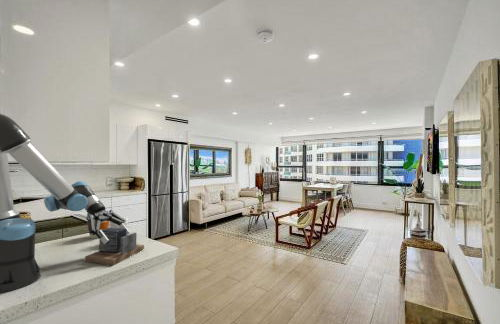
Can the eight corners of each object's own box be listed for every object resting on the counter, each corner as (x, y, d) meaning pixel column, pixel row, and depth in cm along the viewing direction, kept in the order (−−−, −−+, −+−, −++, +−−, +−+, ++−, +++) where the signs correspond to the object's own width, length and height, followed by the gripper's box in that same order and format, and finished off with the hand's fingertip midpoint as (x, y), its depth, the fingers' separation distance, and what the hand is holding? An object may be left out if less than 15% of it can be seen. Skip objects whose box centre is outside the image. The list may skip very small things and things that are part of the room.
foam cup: (110, 240, 139) (110, 218, 139) (128, 238, 143) (128, 217, 143) (108, 245, 131) (108, 222, 131) (127, 243, 134) (127, 220, 135)
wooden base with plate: (113, 265, 104) (114, 241, 104) (85, 261, 108) (85, 239, 108) (144, 249, 124) (144, 229, 124) (118, 247, 127) (119, 228, 127)
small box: (127, 248, 118) (127, 228, 118) (117, 253, 111) (117, 231, 112) (109, 247, 120) (109, 227, 120) (98, 252, 113) (98, 230, 114)
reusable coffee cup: (106, 238, 144) (107, 213, 144) (83, 240, 140) (83, 215, 140) (112, 232, 156) (112, 210, 156) (90, 234, 152) (90, 211, 152)
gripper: (109, 207, 132) (131, 235, 128) (65, 216, 108) (91, 251, 104) (117, 198, 131) (140, 226, 127) (74, 205, 107) (100, 240, 103)
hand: (118, 238), depth 116 cm, fingers open, 13 cm apart
